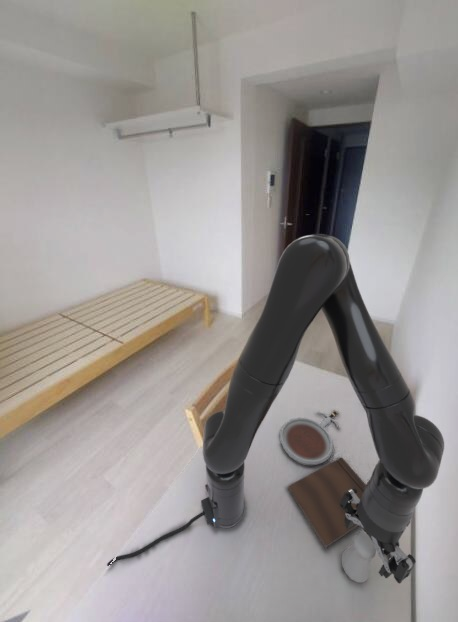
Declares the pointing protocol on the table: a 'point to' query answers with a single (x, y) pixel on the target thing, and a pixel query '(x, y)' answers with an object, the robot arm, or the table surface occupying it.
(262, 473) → the table surface
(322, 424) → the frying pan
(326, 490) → the serving board
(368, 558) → the salt shaker
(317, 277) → the robot arm
